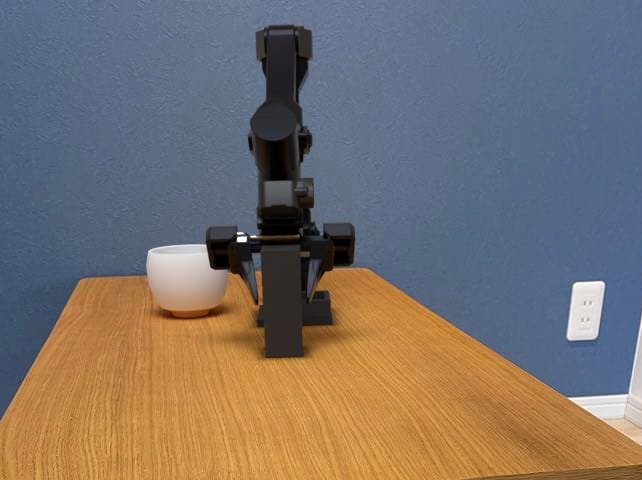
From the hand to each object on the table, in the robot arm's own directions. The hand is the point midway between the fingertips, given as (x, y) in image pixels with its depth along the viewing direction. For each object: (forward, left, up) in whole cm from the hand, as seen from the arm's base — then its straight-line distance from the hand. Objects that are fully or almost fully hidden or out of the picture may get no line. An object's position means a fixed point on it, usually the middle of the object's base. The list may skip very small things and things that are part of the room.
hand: (282, 302), depth 106 cm
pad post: (-1, +1, -7) cm, 7 cm away
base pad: (-13, +18, -7) cm, 24 cm away
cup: (-29, +12, -7) cm, 32 cm away
